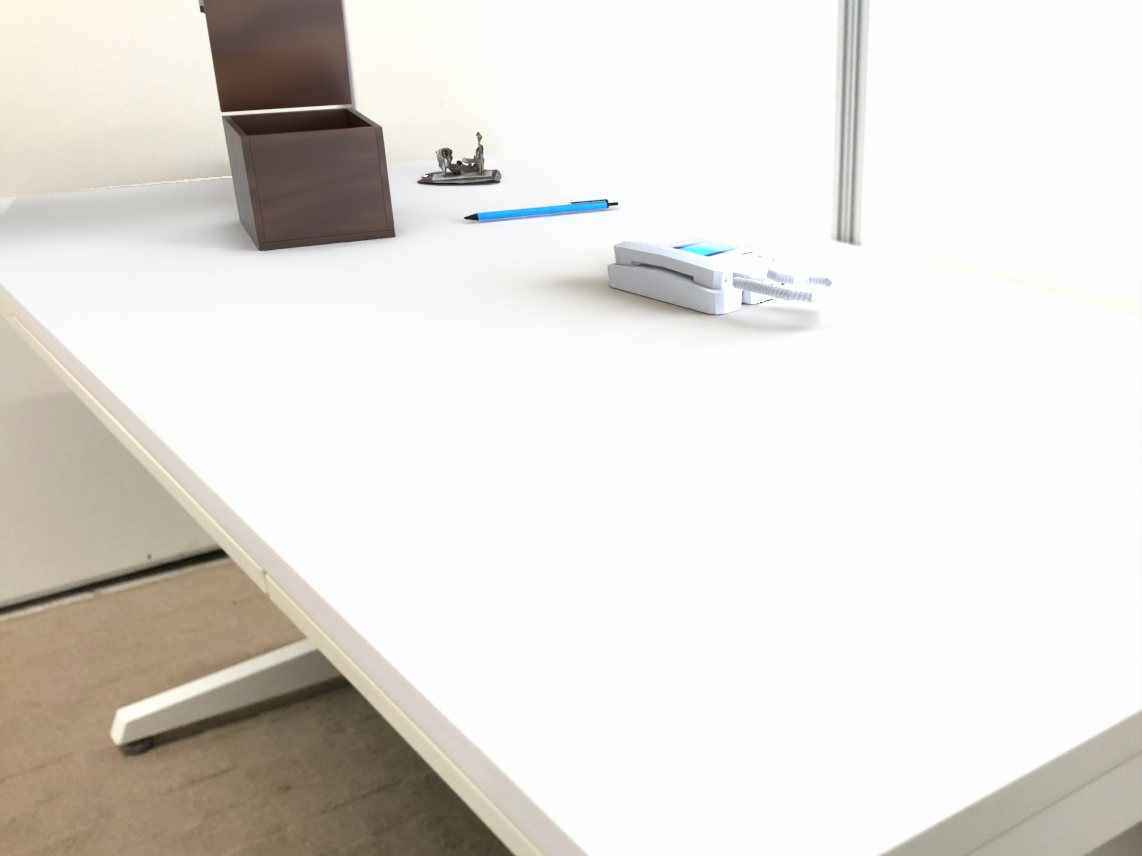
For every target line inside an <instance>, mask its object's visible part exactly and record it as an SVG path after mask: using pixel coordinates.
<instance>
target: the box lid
mask: <svg viewBox="0 0 1142 856" xmlns="http://www.w3.org/2000/svg"><path fill="white" fill-rule="evenodd" d="M203 4H204V10H205V14H204V16H205V17H204V18H205V23H206V29H207V36H208V42H209V47H210V53H211V54H210V55H211V60H212V67H213V73H214V79H215V86H216V92H217V98H218V104H219V111H220V112H221V113H234V112H250V111H265V110H266V111H267V110H282V109H297V108H298V109H299V108H315V107H329V106H330V107H331V106H345V105H352V104H353V101H352V91H351V81H350V71H349V61H348V51H347V50H348V49H347V41H346V40H347V39H346V29H345V21H344V20H345V19H344V11H343V2H342V0H203Z"/></svg>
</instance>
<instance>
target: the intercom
mask: <svg viewBox="0 0 1142 856" xmlns="http://www.w3.org/2000/svg"><path fill="white" fill-rule="evenodd" d="M613 251H614V257H615V262H613V263H609V264H607V265H606V266H607V267H606V268H607V278H608V286H609V287H610V288H614V289H618V290H621V291H624V292H627V293H628V292H629V293H632V294H635V295H639V296H643V297H647V298H650V299H654V300H657V301H661V302H665V303H669V304H672V305H676V306H679V307H682V308H686V309H690V310H693V311H697V312H701V313H704V314H708V315H714V316H715V315H725V314H729V313H732V312H736V311H739V310H740V309H741V308H742V304H748V305H756V304H757V303H758V304H761V303H760V302H763V303H765V302H764V301H766V300H768V299H770V298H776V299H779V300H784V301H788V302H789V301H790V302H800V303H801V302H802V303H803V302H804V303H815V302H819V301H825V300H829V299H835V298H837V296H838V295H839V292H840V289H841V282H839V281H838V280H837V279H836V278H835V277H834V276H832V275H828V274H821V273H820V274H819V273H813V272H808V271H809V264H807V261H806V260H805V259H804V258H803V257H797V256H792V255H789V254H784V253H780V252H775V251H770V250H766V249H762V248H757V247H753V246H746V247H745V246H744V247H742V246H739V245H738V246H737V245H733V244H729V243H725V242H720V241H716V240H711V239H707V238H691V239H687V240H683V241H678V242H675V243H669V244H666V245H661V244H656V243H653V242H652V243H651V242H646V241H640V240H639V241H635V240H634V241H622V242H619V243H616V244H614V245H613ZM799 285H807V286H815V287H816V286H818V287H820V288H815V289H805V290H801V289H792V288H794V287H796V286H799ZM766 302H767V301H766Z"/></svg>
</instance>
